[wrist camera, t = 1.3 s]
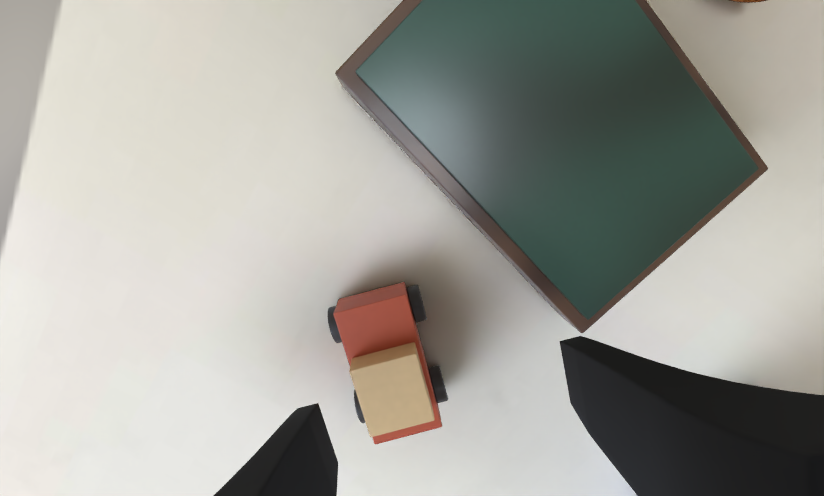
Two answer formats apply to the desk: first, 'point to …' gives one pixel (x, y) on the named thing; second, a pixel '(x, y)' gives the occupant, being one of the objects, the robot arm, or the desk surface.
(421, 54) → the green topped wooden block
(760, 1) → the kendama
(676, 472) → the robot arm
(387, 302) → the toy car
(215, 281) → the desk surface
